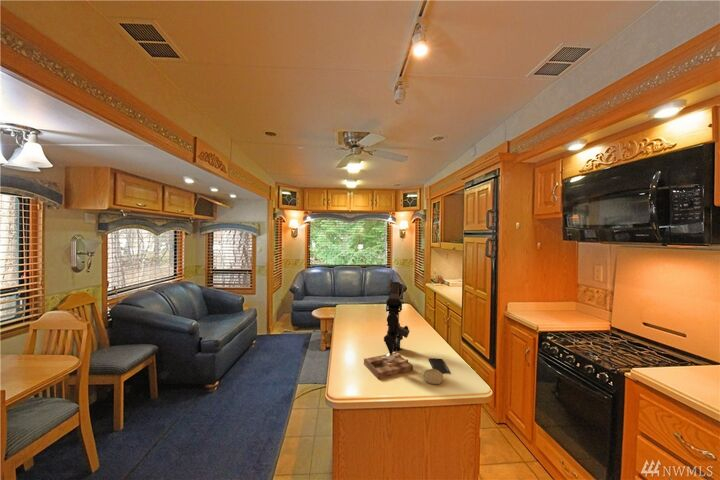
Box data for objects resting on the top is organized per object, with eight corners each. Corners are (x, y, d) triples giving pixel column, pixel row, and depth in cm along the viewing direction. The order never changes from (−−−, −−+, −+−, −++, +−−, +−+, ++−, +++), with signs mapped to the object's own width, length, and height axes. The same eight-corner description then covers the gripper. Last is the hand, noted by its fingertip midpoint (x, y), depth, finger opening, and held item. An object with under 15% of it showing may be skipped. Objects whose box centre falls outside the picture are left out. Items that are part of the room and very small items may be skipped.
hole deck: (395, 357, 153) (395, 350, 152) (412, 371, 138) (412, 363, 138) (363, 364, 144) (363, 357, 144) (378, 379, 130) (378, 371, 130)
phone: (442, 358, 151) (450, 372, 136) (442, 360, 151) (450, 374, 136) (428, 358, 151) (434, 371, 136) (428, 360, 151) (434, 373, 136)
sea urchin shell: (418, 371, 134) (430, 360, 134) (429, 382, 134) (441, 371, 135) (424, 382, 125) (437, 369, 125) (436, 393, 125) (448, 381, 126)
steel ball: (391, 349, 143) (384, 352, 140) (397, 355, 139) (389, 359, 136) (390, 356, 145) (382, 359, 142) (396, 363, 141) (388, 366, 138)
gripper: (405, 326, 134) (405, 359, 133) (411, 319, 151) (410, 348, 150) (383, 324, 137) (383, 356, 136) (391, 317, 155) (390, 345, 154)
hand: (393, 351), depth 144 cm, fingers open, 9 cm apart
